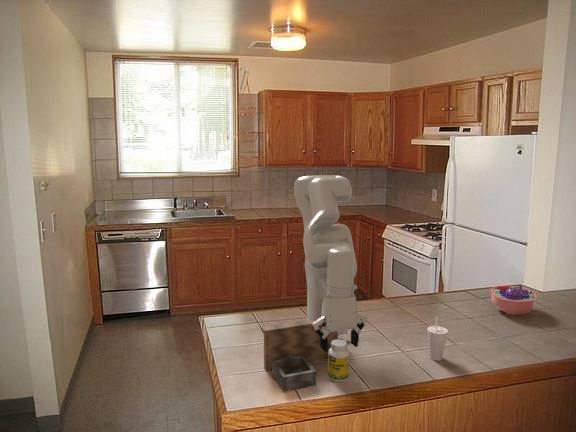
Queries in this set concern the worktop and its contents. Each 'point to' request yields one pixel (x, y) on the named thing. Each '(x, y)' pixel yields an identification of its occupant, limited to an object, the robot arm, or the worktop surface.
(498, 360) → the worktop surface
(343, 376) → the pill bottle
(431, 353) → the smoothie
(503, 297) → the cell model
